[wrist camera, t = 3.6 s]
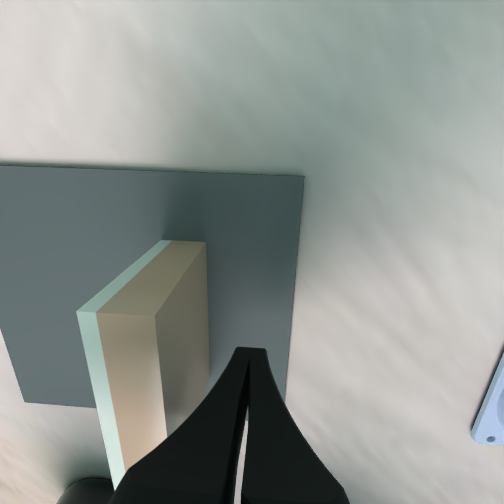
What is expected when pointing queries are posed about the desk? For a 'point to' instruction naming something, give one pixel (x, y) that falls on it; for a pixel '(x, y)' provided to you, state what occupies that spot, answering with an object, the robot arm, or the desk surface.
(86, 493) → the supplement bottle
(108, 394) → the tile
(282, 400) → the robot arm
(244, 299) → the mat
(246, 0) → the desk surface
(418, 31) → the desk surface
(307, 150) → the desk surface
